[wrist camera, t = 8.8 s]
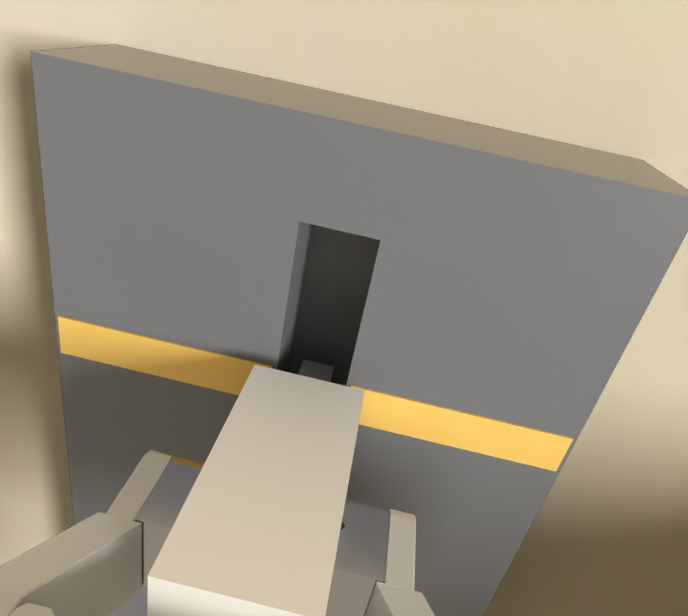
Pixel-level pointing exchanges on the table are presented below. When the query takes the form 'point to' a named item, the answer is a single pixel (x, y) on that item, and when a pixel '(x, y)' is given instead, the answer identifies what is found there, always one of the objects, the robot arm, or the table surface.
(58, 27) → the table surface
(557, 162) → the console
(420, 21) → the table surface
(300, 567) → the fader
